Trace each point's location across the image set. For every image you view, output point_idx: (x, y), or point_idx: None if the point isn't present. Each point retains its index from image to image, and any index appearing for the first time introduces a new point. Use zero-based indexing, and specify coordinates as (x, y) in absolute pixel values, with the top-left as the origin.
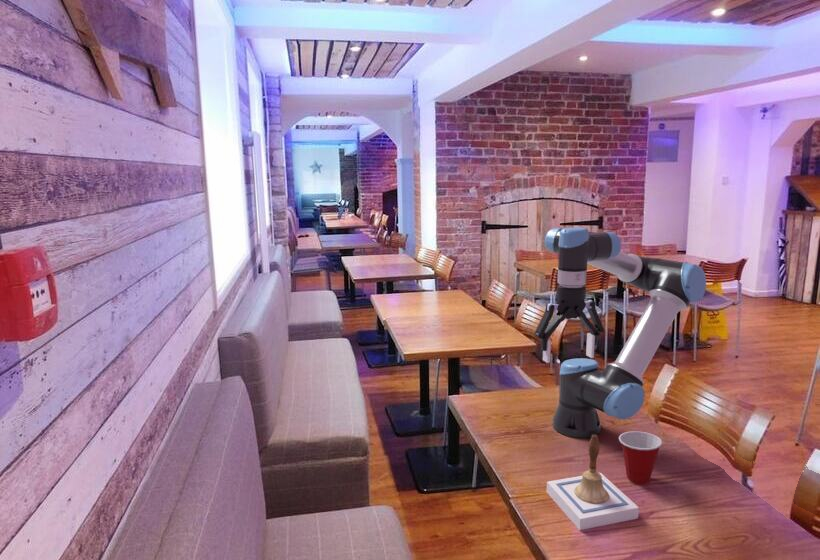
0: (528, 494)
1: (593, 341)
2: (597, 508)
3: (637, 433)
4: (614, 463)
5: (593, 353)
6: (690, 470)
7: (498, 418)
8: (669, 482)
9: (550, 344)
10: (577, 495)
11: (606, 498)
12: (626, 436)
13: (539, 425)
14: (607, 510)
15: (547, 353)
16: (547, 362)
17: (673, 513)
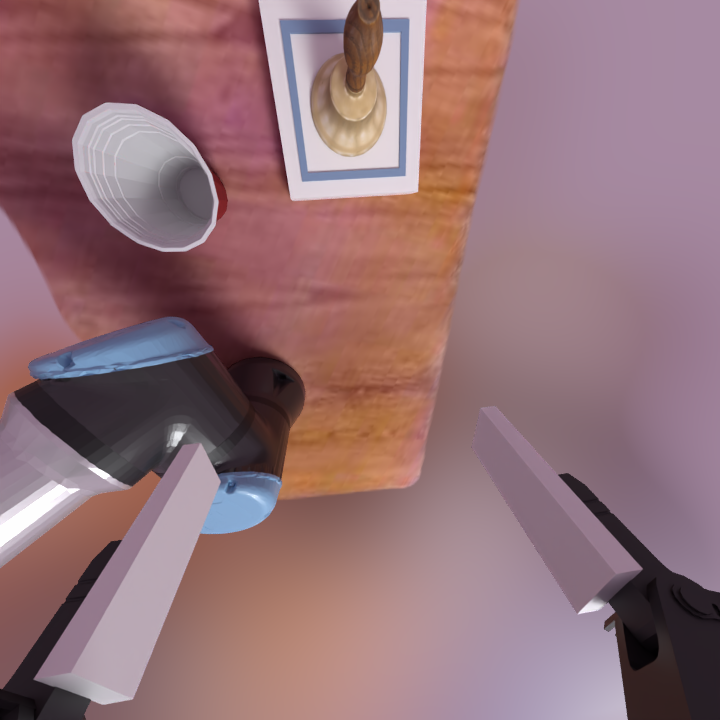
0: (446, 194)
1: (109, 581)
2: None
3: (148, 240)
4: (235, 264)
5: (170, 470)
6: (60, 198)
7: (380, 429)
8: None
9: (576, 524)
10: (386, 105)
11: (327, 61)
12: (187, 241)
13: (325, 404)
14: (344, 11)
15: (535, 454)
16: (497, 409)
17: (162, 8)
